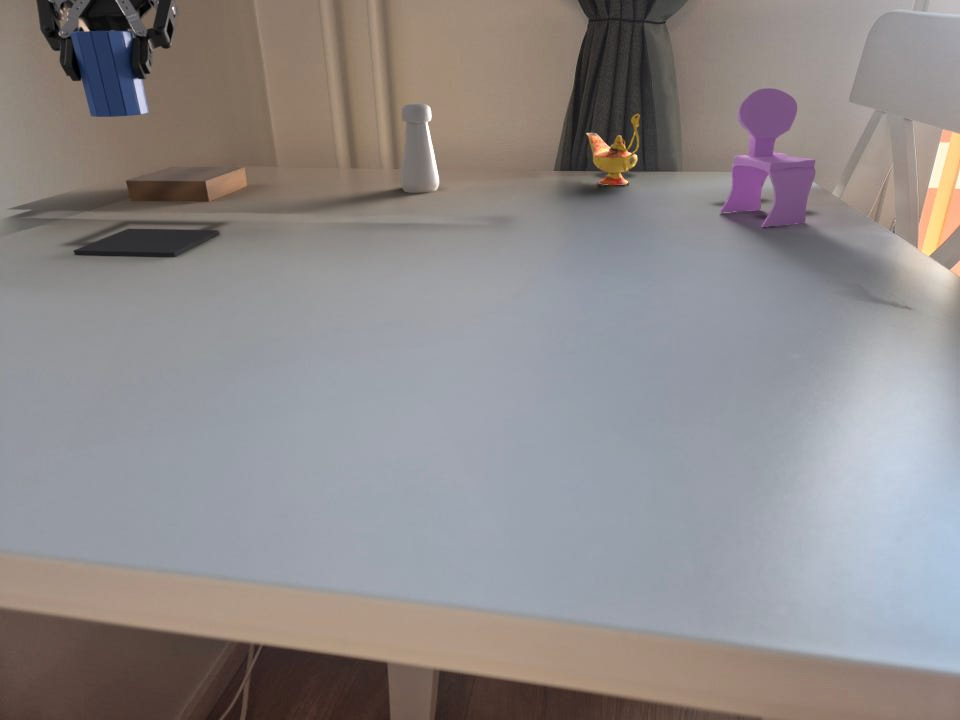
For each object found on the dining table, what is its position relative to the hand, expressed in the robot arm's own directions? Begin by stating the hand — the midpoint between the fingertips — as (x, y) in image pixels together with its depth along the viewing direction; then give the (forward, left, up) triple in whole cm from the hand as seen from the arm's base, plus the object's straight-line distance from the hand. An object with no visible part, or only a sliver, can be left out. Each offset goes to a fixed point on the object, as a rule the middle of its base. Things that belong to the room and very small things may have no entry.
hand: (106, 73), depth 70 cm
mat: (-1, +2, -18) cm, 18 cm away
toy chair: (+71, +19, -18) cm, 76 cm away
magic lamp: (+53, +44, -18) cm, 71 cm away
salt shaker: (+25, +30, -18) cm, 43 cm away
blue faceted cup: (-1, +2, -4) cm, 4 cm away
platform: (-9, +26, -18) cm, 33 cm away
